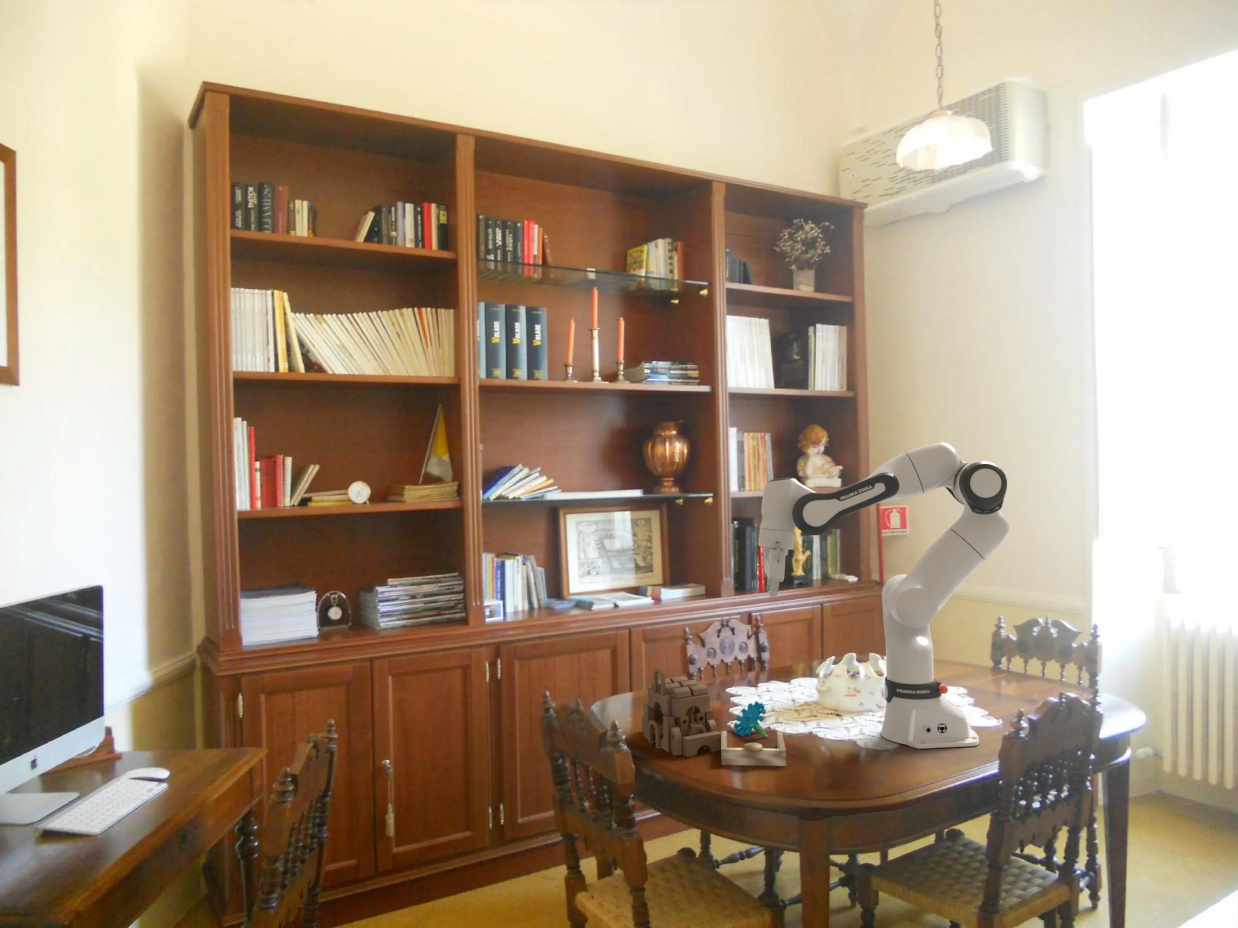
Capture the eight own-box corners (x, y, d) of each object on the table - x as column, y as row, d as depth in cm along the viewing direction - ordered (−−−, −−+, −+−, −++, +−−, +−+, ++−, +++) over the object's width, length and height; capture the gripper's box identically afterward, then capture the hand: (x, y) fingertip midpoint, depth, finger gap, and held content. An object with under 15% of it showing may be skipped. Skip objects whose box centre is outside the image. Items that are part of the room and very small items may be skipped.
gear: (727, 721, 224) (754, 693, 224) (742, 735, 225) (769, 707, 225) (741, 741, 213) (769, 711, 213) (757, 755, 214) (785, 726, 214)
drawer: (782, 746, 209) (781, 728, 209) (786, 768, 194) (786, 748, 194) (721, 745, 210) (721, 727, 210) (721, 766, 196) (721, 747, 196)
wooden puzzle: (729, 749, 208) (727, 671, 208) (675, 760, 201) (674, 679, 201) (682, 724, 228) (680, 653, 227) (632, 733, 221) (631, 660, 221)
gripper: (792, 545, 211) (788, 602, 211) (785, 538, 231) (781, 590, 231) (766, 542, 211) (761, 599, 211) (761, 536, 232) (757, 588, 232)
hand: (771, 594), depth 221 cm, fingers open, 8 cm apart
